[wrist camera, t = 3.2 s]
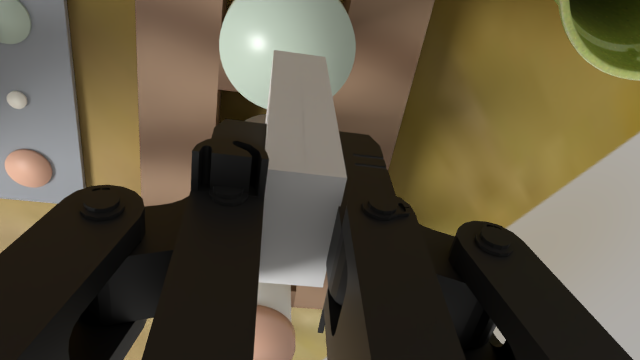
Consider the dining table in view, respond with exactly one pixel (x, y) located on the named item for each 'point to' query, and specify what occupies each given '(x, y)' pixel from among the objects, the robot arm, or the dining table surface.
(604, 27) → the plant pot
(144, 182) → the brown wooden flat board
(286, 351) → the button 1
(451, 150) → the dining table surface
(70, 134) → the card
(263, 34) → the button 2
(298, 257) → the robot arm
